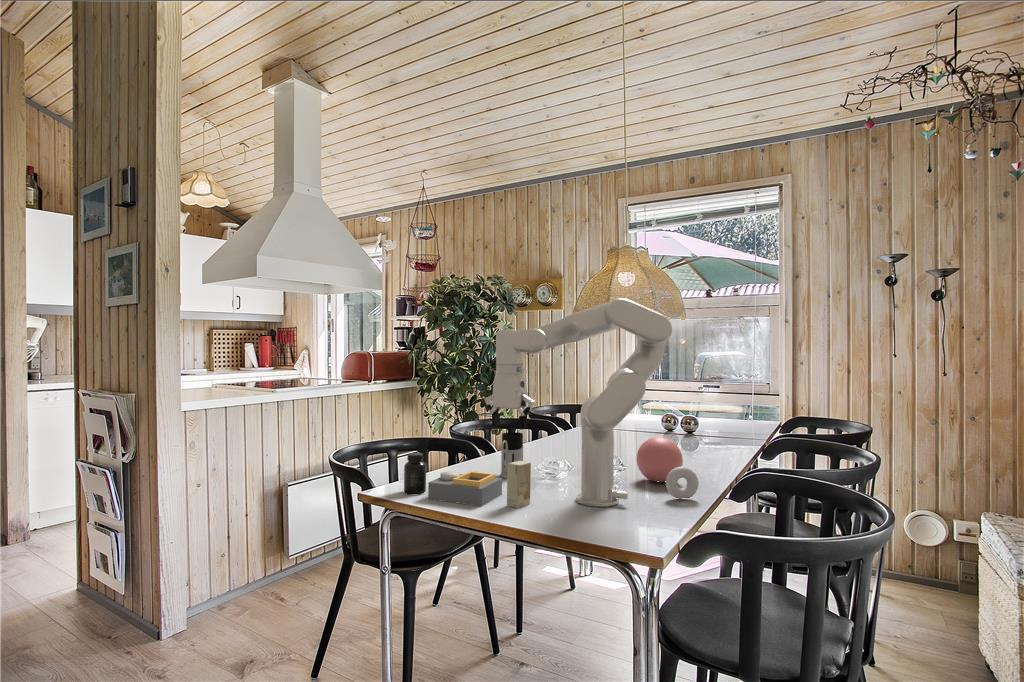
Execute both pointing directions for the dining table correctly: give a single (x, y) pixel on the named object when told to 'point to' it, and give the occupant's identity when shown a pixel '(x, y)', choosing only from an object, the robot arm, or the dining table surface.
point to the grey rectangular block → (465, 487)
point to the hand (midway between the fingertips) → (509, 427)
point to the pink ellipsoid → (658, 458)
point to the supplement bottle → (415, 474)
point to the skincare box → (518, 483)
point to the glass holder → (511, 450)
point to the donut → (673, 479)
